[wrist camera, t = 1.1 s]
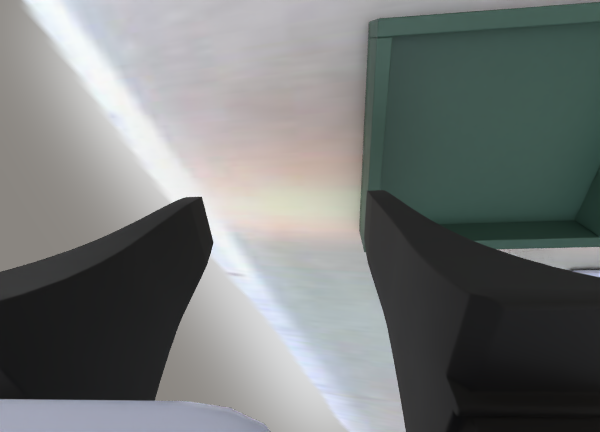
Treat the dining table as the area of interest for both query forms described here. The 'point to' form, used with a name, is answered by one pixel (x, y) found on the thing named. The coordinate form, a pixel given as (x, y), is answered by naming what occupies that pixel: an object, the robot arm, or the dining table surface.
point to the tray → (489, 122)
